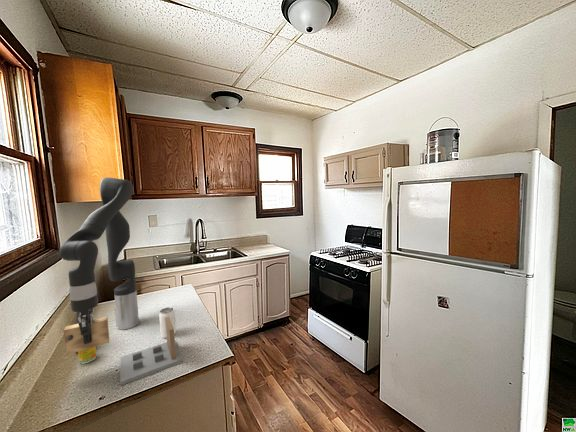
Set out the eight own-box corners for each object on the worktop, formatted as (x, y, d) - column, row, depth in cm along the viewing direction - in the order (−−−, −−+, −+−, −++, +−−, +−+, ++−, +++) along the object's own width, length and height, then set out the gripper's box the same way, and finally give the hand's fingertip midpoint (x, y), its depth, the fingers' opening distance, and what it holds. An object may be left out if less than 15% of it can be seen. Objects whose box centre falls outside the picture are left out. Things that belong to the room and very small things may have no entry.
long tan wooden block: (65, 356, 84) (63, 331, 84) (68, 350, 88) (65, 326, 87) (108, 344, 91) (106, 321, 90) (109, 338, 94) (107, 316, 93)
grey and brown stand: (120, 385, 84) (117, 349, 83) (121, 359, 97) (118, 328, 96) (182, 361, 95) (180, 329, 94) (175, 342, 108) (173, 313, 107)
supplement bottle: (82, 365, 94) (79, 342, 93) (76, 361, 97) (74, 338, 96) (98, 357, 99) (96, 335, 98) (93, 353, 102) (90, 331, 101)
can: (169, 339, 110) (168, 313, 109) (157, 338, 112) (155, 312, 111) (179, 331, 117) (177, 307, 116) (167, 330, 118) (165, 306, 117)
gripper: (95, 299, 84) (99, 346, 86) (98, 286, 96) (103, 328, 98) (66, 305, 80) (71, 354, 82) (73, 291, 92) (78, 334, 93)
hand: (88, 340), depth 90 cm, fingers closed on long tan wooden block, 3 cm apart
